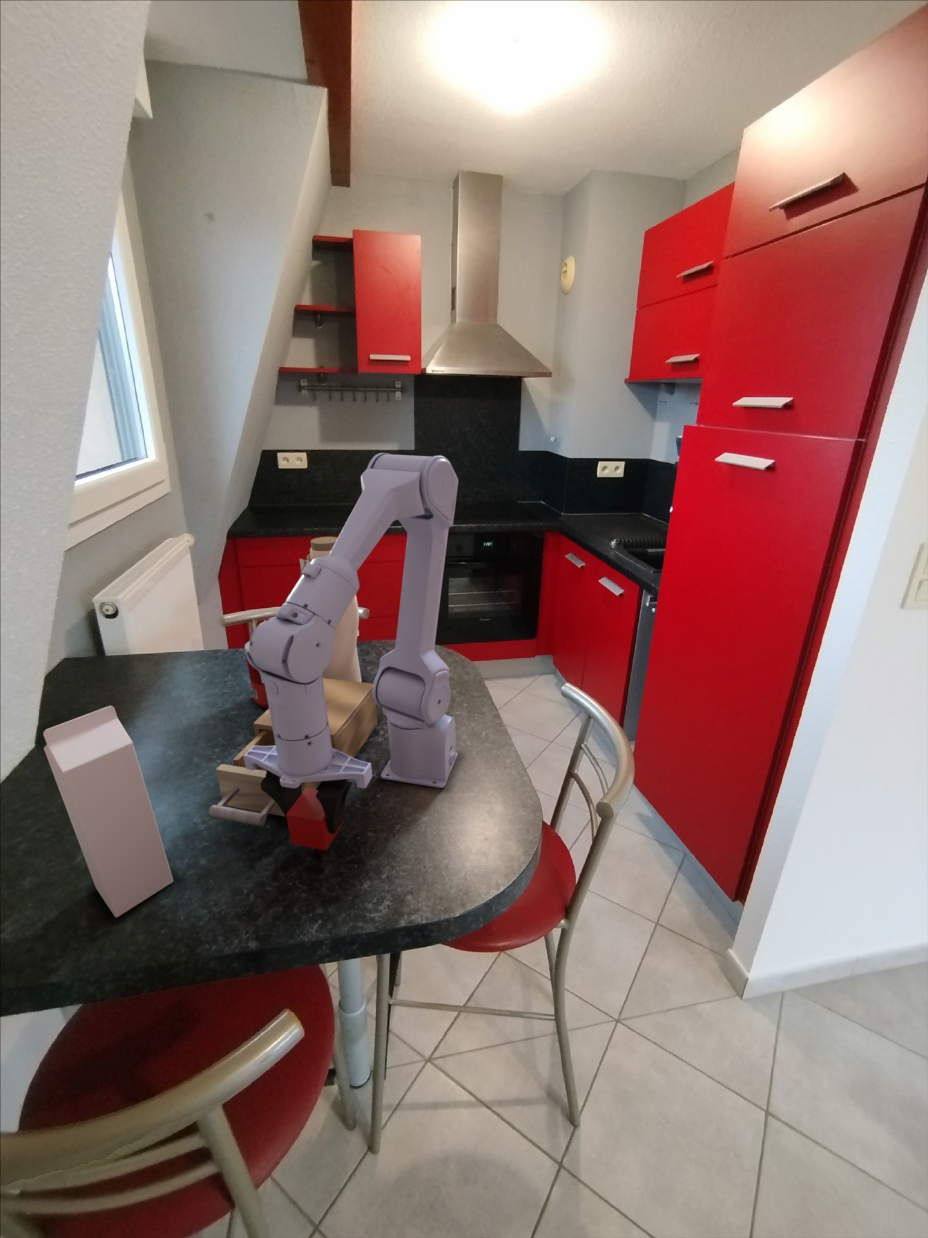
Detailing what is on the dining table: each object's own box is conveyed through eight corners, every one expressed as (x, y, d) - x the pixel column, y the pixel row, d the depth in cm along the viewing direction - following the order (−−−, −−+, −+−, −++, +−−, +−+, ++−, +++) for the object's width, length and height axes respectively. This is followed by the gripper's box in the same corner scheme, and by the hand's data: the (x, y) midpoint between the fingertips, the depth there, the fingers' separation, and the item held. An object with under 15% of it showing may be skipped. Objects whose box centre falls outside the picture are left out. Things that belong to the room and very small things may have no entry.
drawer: (280, 849, 63) (273, 810, 61) (197, 832, 65) (188, 795, 63) (347, 755, 79) (344, 722, 77) (279, 745, 82) (274, 713, 80)
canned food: (286, 711, 93) (277, 654, 88) (245, 706, 94) (234, 650, 90) (306, 689, 100) (299, 636, 95) (268, 685, 101) (259, 632, 97)
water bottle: (338, 703, 95) (320, 551, 84) (302, 690, 99) (281, 544, 88) (374, 678, 103) (363, 537, 92) (339, 668, 107) (324, 532, 97)
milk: (174, 882, 60) (126, 715, 51) (115, 920, 55) (52, 744, 47) (151, 855, 63) (103, 694, 55) (94, 888, 59) (32, 719, 51)
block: (343, 823, 64) (339, 794, 62) (326, 851, 60) (321, 820, 58) (310, 817, 65) (305, 788, 63) (291, 844, 61) (285, 814, 59)
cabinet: (339, 779, 76) (333, 734, 73) (260, 767, 78) (252, 723, 76) (378, 723, 89) (374, 683, 86) (309, 714, 92) (304, 675, 89)
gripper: (217, 738, 55) (240, 838, 60) (347, 757, 51) (359, 862, 57) (257, 702, 61) (275, 796, 66) (375, 718, 58) (384, 815, 63)
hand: (316, 823), depth 62 cm, fingers closed on block, 4 cm apart
